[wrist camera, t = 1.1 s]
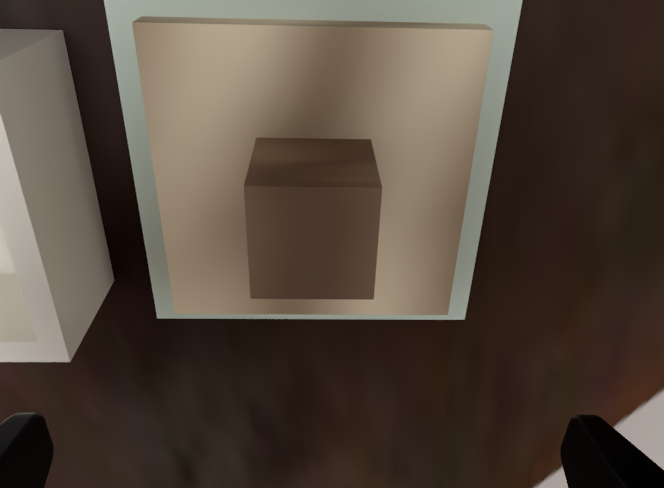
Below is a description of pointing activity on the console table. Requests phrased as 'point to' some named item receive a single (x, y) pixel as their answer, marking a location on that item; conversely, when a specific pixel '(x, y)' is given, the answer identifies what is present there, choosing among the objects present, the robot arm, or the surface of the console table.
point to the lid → (311, 160)
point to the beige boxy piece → (45, 205)
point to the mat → (315, 4)
